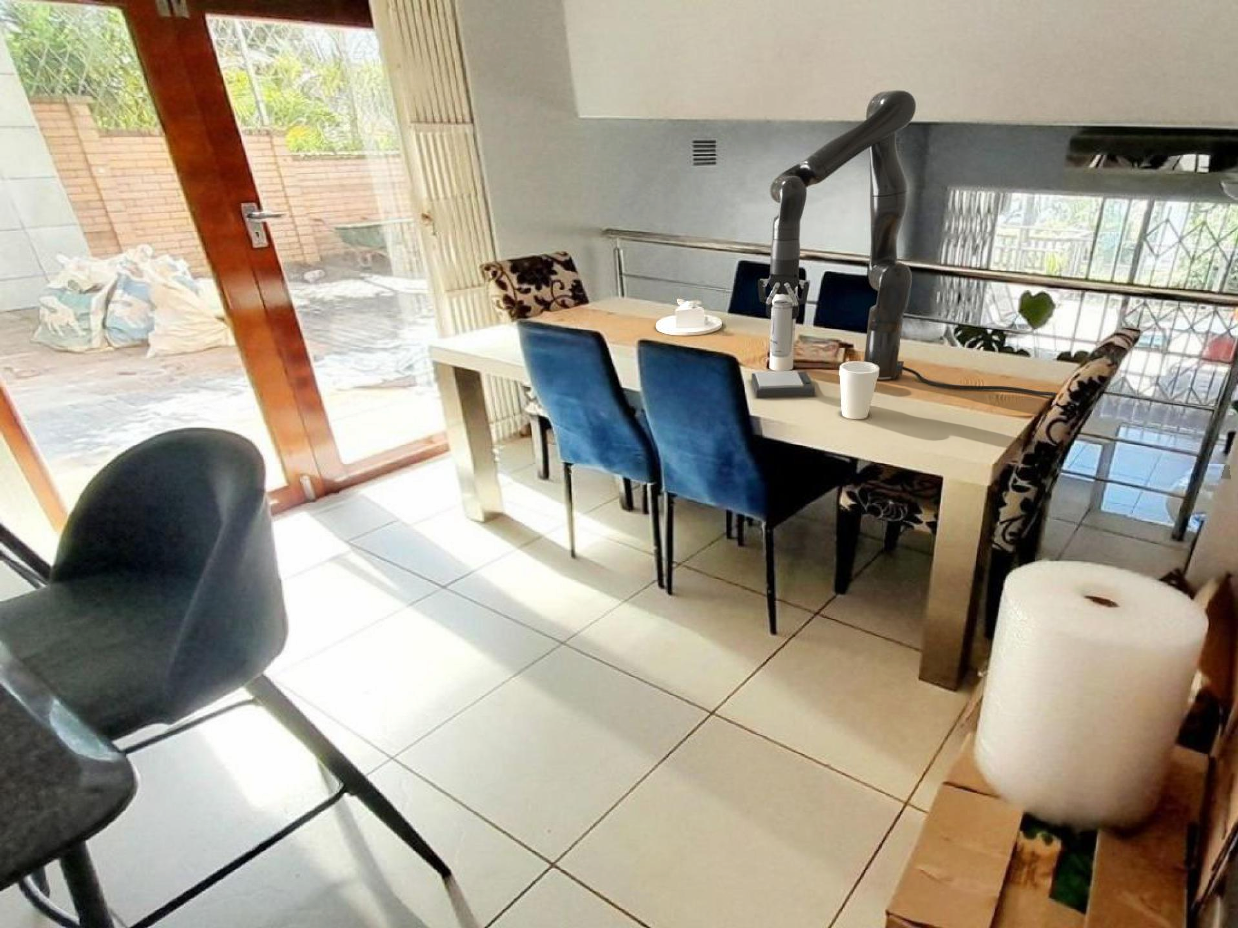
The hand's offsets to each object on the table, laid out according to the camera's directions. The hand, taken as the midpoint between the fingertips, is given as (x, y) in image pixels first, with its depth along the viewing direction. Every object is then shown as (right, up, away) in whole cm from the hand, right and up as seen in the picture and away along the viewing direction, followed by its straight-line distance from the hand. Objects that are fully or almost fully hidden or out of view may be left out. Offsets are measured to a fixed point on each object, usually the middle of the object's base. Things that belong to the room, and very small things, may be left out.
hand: (782, 317), depth 194 cm
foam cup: (+17, -28, -10) cm, 34 cm away
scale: (+2, -19, +9) cm, 21 cm away
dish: (-19, +12, +73) cm, 76 cm away
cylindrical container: (+6, -10, +25) cm, 28 cm away
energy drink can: (+1, -10, +5) cm, 11 cm away
